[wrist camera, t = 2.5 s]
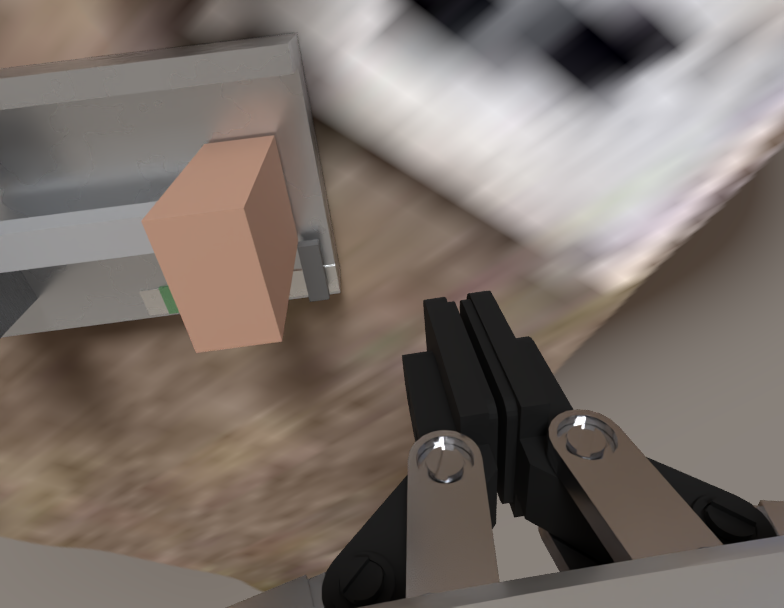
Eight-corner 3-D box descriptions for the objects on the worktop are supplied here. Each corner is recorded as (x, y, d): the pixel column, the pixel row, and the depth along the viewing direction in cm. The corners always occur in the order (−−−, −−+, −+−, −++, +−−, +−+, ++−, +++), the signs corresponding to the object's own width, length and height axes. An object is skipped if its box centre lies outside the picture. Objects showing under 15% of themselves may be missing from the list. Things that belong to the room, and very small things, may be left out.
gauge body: (296, 32, 21) (270, 64, 13) (340, 270, 28) (340, 386, 20) (-122, 83, 21) (-406, 147, 13) (24, 311, 28) (-104, 446, 20)
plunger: (297, 132, 21) (277, 203, 14) (329, 290, 25) (326, 400, 19) (-56, 176, 21) (-243, 269, 14) (40, 328, 25) (-67, 453, 19)
